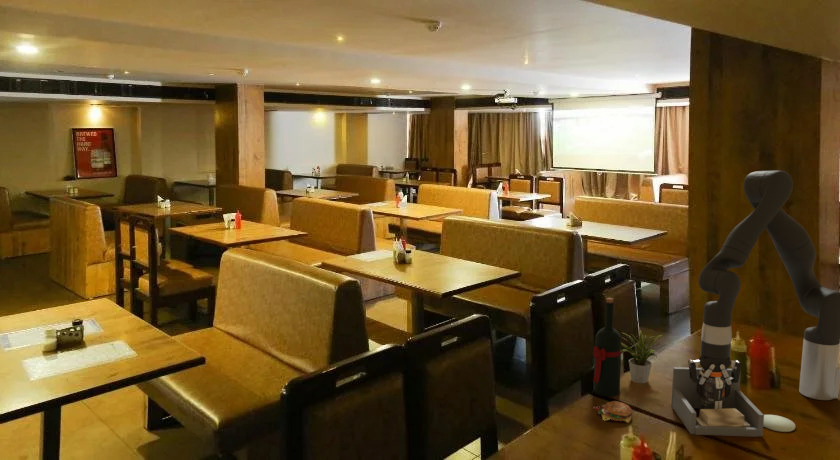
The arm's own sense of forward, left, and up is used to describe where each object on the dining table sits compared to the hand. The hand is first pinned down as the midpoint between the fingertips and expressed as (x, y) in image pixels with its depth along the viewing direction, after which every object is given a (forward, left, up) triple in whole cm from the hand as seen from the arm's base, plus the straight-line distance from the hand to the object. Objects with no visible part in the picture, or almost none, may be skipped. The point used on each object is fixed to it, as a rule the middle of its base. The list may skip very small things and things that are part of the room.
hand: (713, 395), depth 176 cm
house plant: (+13, -26, -6) cm, 29 cm away
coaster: (-16, +4, -6) cm, 17 cm away
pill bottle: (0, 0, -4) cm, 4 cm away
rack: (0, +3, -6) cm, 7 cm away
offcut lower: (0, +7, -7) cm, 10 cm away
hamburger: (+28, +1, -7) cm, 29 cm away
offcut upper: (0, +7, -4) cm, 8 cm away
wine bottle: (+27, -14, -6) cm, 31 cm away
